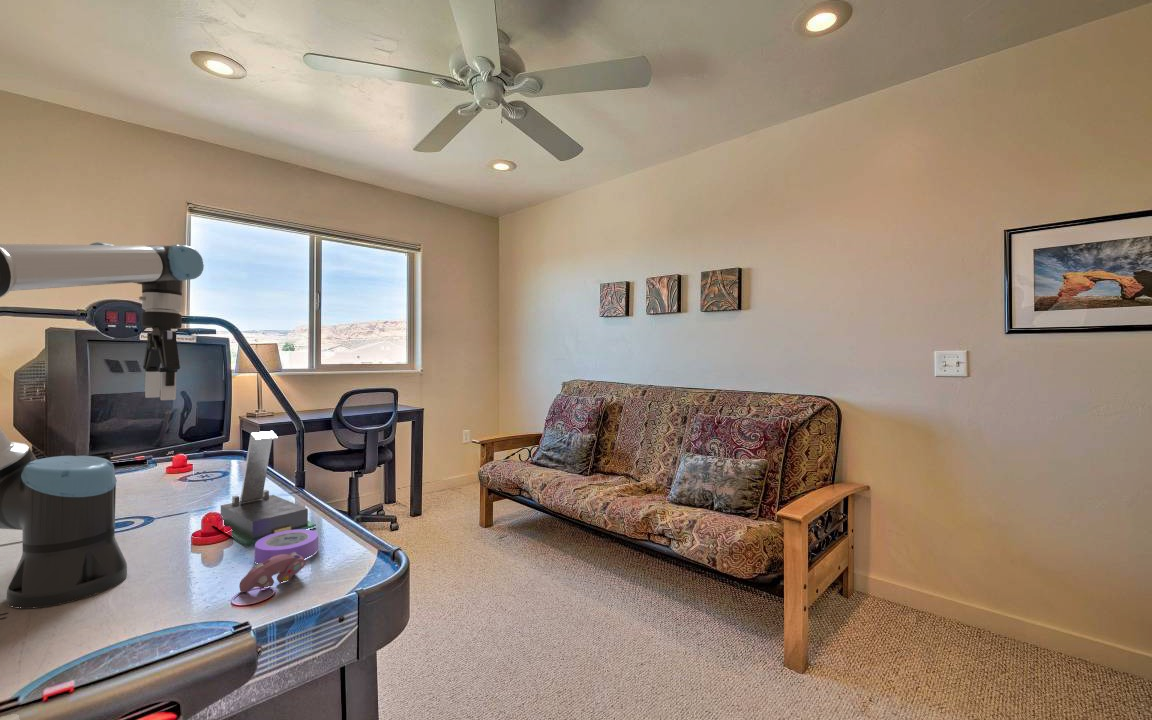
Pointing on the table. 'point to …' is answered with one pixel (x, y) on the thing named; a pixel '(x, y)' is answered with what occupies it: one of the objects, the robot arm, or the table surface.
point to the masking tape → (286, 544)
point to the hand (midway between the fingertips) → (160, 398)
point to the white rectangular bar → (256, 465)
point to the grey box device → (263, 517)
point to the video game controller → (272, 571)
